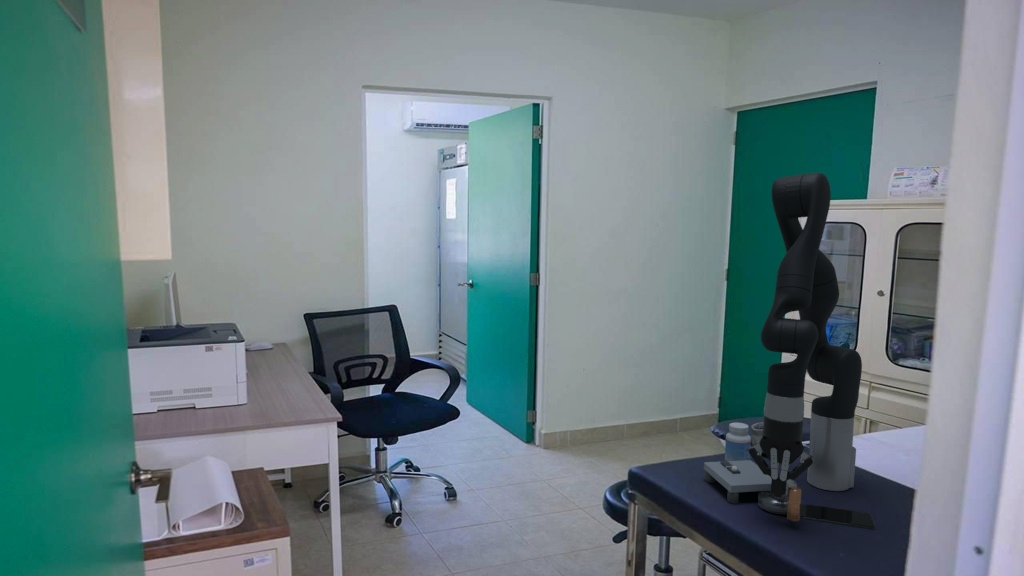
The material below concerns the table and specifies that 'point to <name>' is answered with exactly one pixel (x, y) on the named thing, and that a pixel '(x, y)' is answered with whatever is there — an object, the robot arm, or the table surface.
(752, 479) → the slide switch panel
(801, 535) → the table surface
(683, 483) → the table surface
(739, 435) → the pill bottle
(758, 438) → the mug
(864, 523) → the smartphone
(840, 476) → the robot arm
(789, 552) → the table surface
